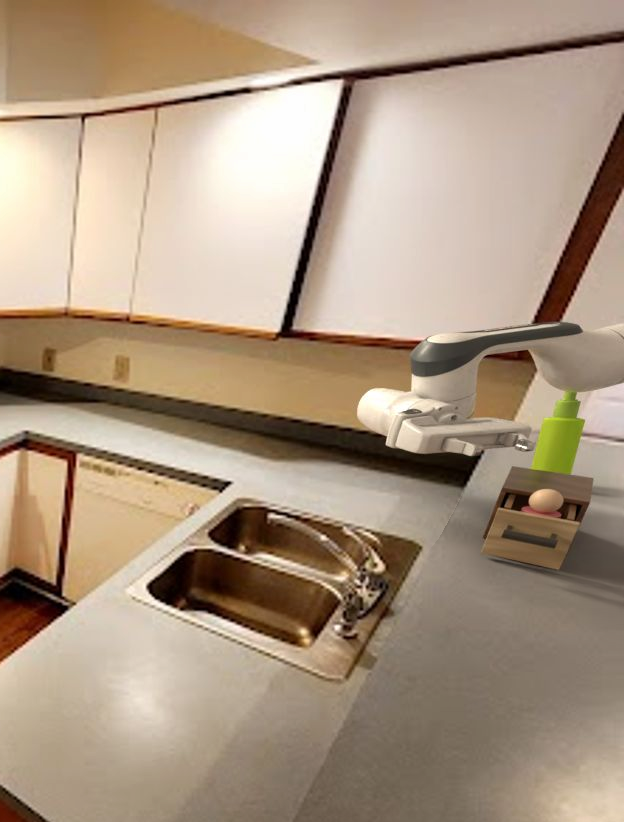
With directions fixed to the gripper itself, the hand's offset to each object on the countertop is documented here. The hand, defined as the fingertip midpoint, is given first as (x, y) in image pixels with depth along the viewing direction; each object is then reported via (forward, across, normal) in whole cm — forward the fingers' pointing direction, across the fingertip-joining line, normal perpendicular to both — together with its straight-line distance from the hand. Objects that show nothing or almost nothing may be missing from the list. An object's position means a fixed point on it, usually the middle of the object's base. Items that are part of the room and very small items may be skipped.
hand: (504, 449), depth 103 cm
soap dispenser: (-17, -34, -16) cm, 41 cm away
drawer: (+9, 0, -15) cm, 17 cm away
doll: (+9, 0, -14) cm, 16 cm away
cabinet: (+1, -9, -16) cm, 18 cm away
